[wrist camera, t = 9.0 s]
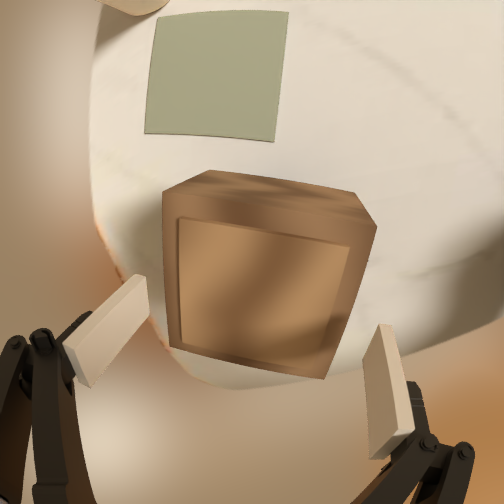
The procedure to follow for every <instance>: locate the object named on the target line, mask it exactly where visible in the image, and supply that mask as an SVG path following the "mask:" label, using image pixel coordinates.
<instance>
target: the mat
mask: <svg viewBox="0 0 504 504" xmlns="http://www.w3.org/2000/svg"><path fill="white" fill-rule="evenodd" d="M288 15H289V12H282V11H263V10H228V11H209V12H197V13H187V14H179V15H172V16H165V17H159V18H158V21H157V26H156V32H155V38H154V45H153V51H152V59H151V66H150V75H149V84H148V94H147V106H146V120H145V133H159V134H191V135H209V136H223V137H234V138H245V139H254V140H263V141H271V142H274V139H275V131H276V122H277V114H278V105H279V96H280V88H281V79H282V70H283V61H284V52H285V43H286V34H287V24H288Z"/></svg>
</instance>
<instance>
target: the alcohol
mask: <svg viewBox="0 0 504 504" xmlns="http://www.w3.org/2000/svg"><path fill="white" fill-rule="evenodd" d="M96 1H99V2H101V3H104V4H106V5H109V6H111V7H114V8H116V9H118V10H121V11H123V12H125V13H127V14H129V15H134V16H140V15H145V14H148V13H151V12H154V11H156V10H158V9H160V8H161V7H163V6H164V5H165V4H166V3H168V2H169V1H170V0H96Z"/></svg>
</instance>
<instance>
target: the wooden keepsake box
mask: <svg viewBox="0 0 504 504" xmlns="http://www.w3.org/2000/svg"><path fill="white" fill-rule="evenodd" d="M376 229H377V226H376V224H375V222H374V221H373V219H372V218H371V216H370V215H369V213H368V212H367V210H366V209H365V207H364V206H363V204H362V203H361V201H360V200H359V198H358V197H357V195H356V194H355V193H354V192H349V191H344V190H339V189H334V188H329V187H323V186H318V185H312V184H307V183H301V182H295V181H289V180H283V179H276V178H270V177H263V176H256V175H249V174H241V173H233V172H225V171H216V170H208V171H206V172H203V173H201V174H199V175H197V176H195V177H192V178H190V179H188V180H186V181H184V182H182V183H179V184H177V185H175V186H173V187H171V188H169V189H167V190H165V191H163V192H162V231H163V265H164V284H165V300H166V313H167V324H168V335H169V345H170V347H173V348H177V349H180V350H184V351H187V352H191V353H195V354H198V355H202V356H206V357H210V358H214V359H218V360H222V361H226V362H231V363H235V364H239V365H244V366H249V367H253V368H258V369H263V370H268V371H274V372H279V373H285V374H291V375H297V376H303V377H310V378H317V379H325V376H326V374H327V372H328V370H329V367H330V365H331V362H332V360H333V358H334V355H335V353H336V350H337V348H338V345H339V343H340V340H341V338H342V335H343V332H344V330H345V327H346V324H347V322H348V319H349V316H350V314H351V311H352V308H353V305H354V302H355V299H356V296H357V293H358V290H359V287H360V284H361V281H362V278H363V275H364V272H365V268H366V265H367V262H368V258H369V255H370V251H371V248H372V244H373V241H374V237H375V233H376Z"/></svg>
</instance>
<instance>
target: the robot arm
mask: <svg viewBox="0 0 504 504" xmlns="http://www.w3.org/2000/svg"><path fill="white" fill-rule="evenodd" d="M149 315H150V310H149V302H148V293H147V283H146V276H142V275H138V274H134V275H133V276H132V277H131V278H130V279H129V280H127V281H126V282H125V283H124V284H123V285H122V286H121V287H120V288H119V289H118V290H117V291H116V292H114V293H113V294H112V295H111V296H110V297H109V298H108V299H107V300H106V301H105V302H104V303H103V304H102V305H100V306H99V307H98V308H97V309H96V310H95V311H94V312H92V311H88V312H86V313H84V314H82V315H81V316H80V317H79V318H77V319H76V320H75V322H73V323H72V324H71V326H69V327H68V328H67V329H66V330H65V331H64V332H63V333H62V334H61V335H60V336H59V337H58V338H57V339H56V340H55V339H54V336H53V334H52V332H51V331H50V330H49V329H47V328H40V329H37V330H36V331H34V332H33V333H32V334H31V335H30V337H29V340H30V342H31V344H32V345H30V344H27V342H26V340H25V338H24V337H23V336H20V335H16V336H13V337H11V338H10V339H9V340H8V341H7V343H6V345H5V347H4V349H3V351H2V353H1V355H0V504H21V500H22V490H23V478H24V469H25V461H26V454H27V447H28V442H29V436H30V431H31V426H32V435H33V436H32V438H33V450H34V461H35V469H36V477H37V482H36V484H34V485H33V487H32V495H33V500H34V504H97V503H96V501H95V498H94V495H93V492H92V488H91V484H90V480H89V477H88V472H87V468H86V464H85V459H84V454H83V449H82V444H81V438H80V431H79V425H78V418H77V411H76V401H75V390H74V382H73V378H74V377H75V375H76V376H77V378H78V381H79V382H80V383H82V384H83V385H85V386H87V387H89V388H91V387H92V386H93V385H94V384H95V382H96V381H97V380H98V378H99V377H100V376H101V375H102V373H103V372H104V371H105V369H106V368H107V367H108V365H109V364H110V363H111V362H112V361H113V359H114V358H115V357H116V355H117V354H118V353H119V352H120V350H121V349H122V348H123V347H124V345H125V344H126V343H127V342H128V340H129V339H130V338H131V337H132V336H133V334H134V333H135V332H136V331H137V329H138V328H139V327H140V326H141V325H142V323H143V322H144V321H145V320H146V318H147V317H148V316H149ZM363 369H364V379H365V389H366V402H367V416H368V437H369V459H385V458H386V457H387V456H388V455H390V454H391V461H390V462H389V463H388V464H387V465H385V466H384V467H383V468H382V469H381V470H382V471H381V472H380V473H379V474H378V476H377V477H376V478H375V479H374V480H373V481H372V482H371V483H370V484H369V485H368V486H367V488H365V489H364V491H363V492H362V493H361V494H360V495H359V496H358V497H357V498H356V499H355V500H354V501H353V502H351V503H350V504H403V503H404V501H405V500H406V498H407V497H408V496H409V495H410V493H411V492H412V491H413V489H414V488H415V486H416V485H417V484H418V482H419V484H418V486H417V489H416V491H415V493H414V496H413V498H412V501H411V502H410V504H463V502H464V499H465V496H466V492H467V489H468V485H469V481H470V477H471V473H472V468H473V463H474V459H475V451H474V448H473V447H472V446H471V445H470V444H469V443H467V442H460V443H458V444H457V445H456V446H455V447H452V446H448V445H444V444H441V443H439V441H438V439H437V437H435V435H434V434H431V433H430V430H429V425H428V420H427V416H426V411H425V407H424V402H423V400H422V399H423V398H422V394H421V390H420V388H419V387H418V385H417V384H416V382H411V381H406V380H405V376H404V371H403V367H402V363H401V358H400V355H399V351H398V347H397V343H396V339H395V336H394V332H393V329H392V325H386V324H379V325H378V327H377V329H376V331H375V334H374V336H373V338H372V340H371V343H370V345H369V347H368V349H367V351H366V353H365V355H364V357H363ZM19 376H20V377H19Z"/></svg>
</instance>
